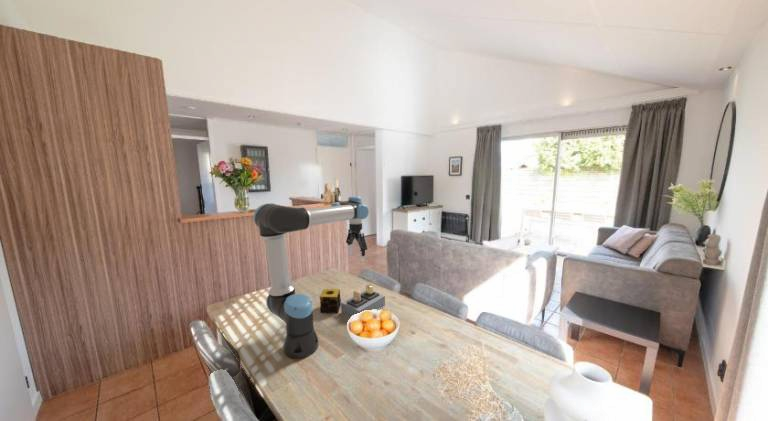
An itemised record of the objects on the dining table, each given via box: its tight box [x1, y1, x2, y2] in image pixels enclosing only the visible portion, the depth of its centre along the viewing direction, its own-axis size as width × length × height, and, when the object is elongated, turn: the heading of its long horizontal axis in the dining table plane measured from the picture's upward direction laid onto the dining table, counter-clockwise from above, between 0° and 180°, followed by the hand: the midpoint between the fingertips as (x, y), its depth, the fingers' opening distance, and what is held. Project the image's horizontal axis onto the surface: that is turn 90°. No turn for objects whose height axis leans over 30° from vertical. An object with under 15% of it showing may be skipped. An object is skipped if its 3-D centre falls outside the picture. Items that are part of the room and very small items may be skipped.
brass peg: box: [365, 284, 374, 297], centre depth 158 cm, size 4×4×7 cm
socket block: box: [340, 289, 386, 318], centre depth 155 cm, size 21×14×7 cm, turn 140°
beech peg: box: [352, 290, 362, 304], centre depth 151 cm, size 4×4×7 cm
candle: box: [319, 288, 342, 314], centre depth 156 cm, size 10×10×10 cm
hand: (356, 258), depth 163 cm, fingers open, 13 cm apart
